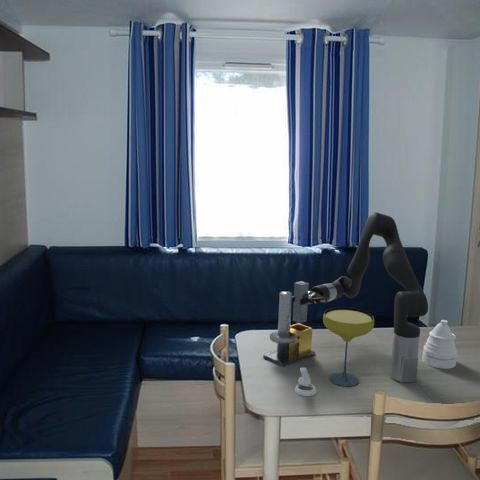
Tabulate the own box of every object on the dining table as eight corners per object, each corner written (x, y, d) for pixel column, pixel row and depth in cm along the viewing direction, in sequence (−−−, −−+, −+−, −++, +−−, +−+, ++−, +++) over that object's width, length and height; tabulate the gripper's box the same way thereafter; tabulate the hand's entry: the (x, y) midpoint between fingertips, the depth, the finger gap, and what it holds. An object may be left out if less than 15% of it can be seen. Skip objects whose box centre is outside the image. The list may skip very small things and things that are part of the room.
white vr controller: (289, 385, 184) (289, 367, 189) (296, 403, 192) (295, 385, 197) (311, 383, 182) (310, 365, 187) (317, 401, 191) (316, 383, 195)
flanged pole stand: (283, 366, 211) (286, 299, 206) (263, 357, 219) (265, 292, 214) (315, 354, 224) (319, 290, 218) (295, 346, 232) (298, 284, 226)
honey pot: (458, 370, 213) (463, 326, 210) (424, 366, 216) (428, 323, 212) (452, 357, 225) (457, 315, 222) (420, 354, 228) (424, 312, 224)
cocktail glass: (373, 375, 206) (378, 312, 201) (363, 395, 190) (369, 327, 185) (326, 366, 213) (330, 304, 208) (313, 384, 197) (317, 318, 192)
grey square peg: (300, 323, 219) (302, 284, 216) (292, 320, 222) (294, 282, 219) (306, 321, 222) (308, 283, 219) (299, 318, 225) (301, 281, 222)
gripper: (311, 281, 234) (283, 287, 223) (337, 288, 224) (310, 296, 213) (310, 298, 236) (282, 305, 224) (336, 306, 225) (309, 314, 214)
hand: (296, 300), depth 219 cm, fingers closed on grey square peg, 4 cm apart
